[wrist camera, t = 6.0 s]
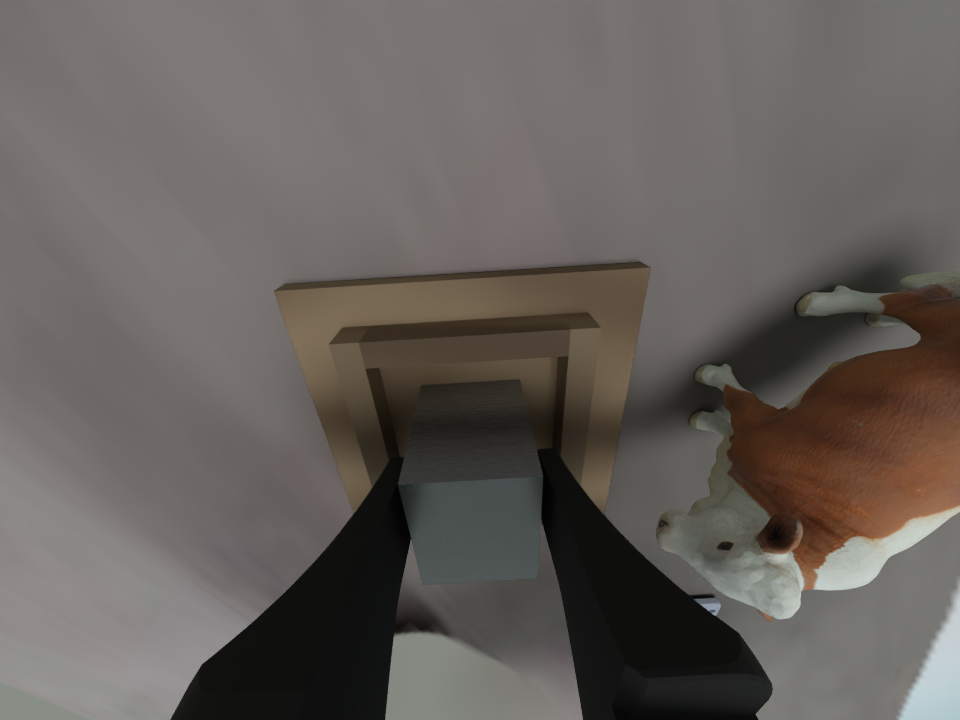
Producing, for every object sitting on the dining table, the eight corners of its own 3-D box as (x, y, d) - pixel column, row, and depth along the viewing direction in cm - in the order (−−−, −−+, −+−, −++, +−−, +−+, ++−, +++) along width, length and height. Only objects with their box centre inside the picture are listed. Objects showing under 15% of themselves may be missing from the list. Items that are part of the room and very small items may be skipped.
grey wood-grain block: (519, 468, 16) (538, 578, 12) (435, 472, 16) (422, 584, 12) (519, 379, 14) (543, 476, 9) (420, 384, 14) (397, 485, 9)
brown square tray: (599, 501, 19) (614, 539, 17) (363, 515, 19) (351, 554, 17) (640, 262, 12) (671, 278, 10) (284, 284, 12) (250, 304, 10)
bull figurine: (586, 412, 16) (685, 613, 8) (921, 218, 12) (1604, 287, 5) (628, 465, 17) (740, 669, 10) (932, 311, 14) (1442, 462, 6)
